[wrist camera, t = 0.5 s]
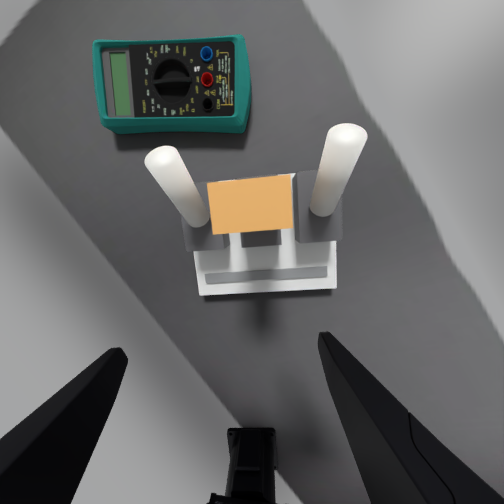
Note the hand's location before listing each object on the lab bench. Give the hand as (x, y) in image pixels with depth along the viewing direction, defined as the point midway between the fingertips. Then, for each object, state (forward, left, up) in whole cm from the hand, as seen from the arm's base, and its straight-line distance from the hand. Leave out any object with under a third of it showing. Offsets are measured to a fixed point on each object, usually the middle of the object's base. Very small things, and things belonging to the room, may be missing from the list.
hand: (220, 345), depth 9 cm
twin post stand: (+4, -2, -14) cm, 14 cm away
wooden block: (+6, -2, -9) cm, 11 cm away
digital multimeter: (+19, +6, -15) cm, 24 cm away
